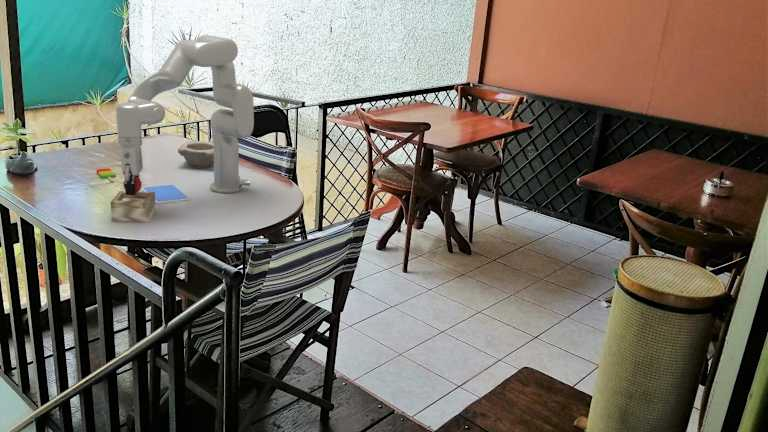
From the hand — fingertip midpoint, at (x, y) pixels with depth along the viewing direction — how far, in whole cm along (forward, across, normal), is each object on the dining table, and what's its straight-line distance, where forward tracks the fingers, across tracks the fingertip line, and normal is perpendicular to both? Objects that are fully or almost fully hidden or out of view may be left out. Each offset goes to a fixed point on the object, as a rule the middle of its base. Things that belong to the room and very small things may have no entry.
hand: (132, 191), depth 235 cm
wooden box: (+9, 0, 0) cm, 9 cm away
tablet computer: (+10, +23, -6) cm, 26 cm away
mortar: (+9, +64, -14) cm, 66 cm away
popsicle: (+9, +43, +20) cm, 49 cm away
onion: (+2, 0, 0) cm, 2 cm away
